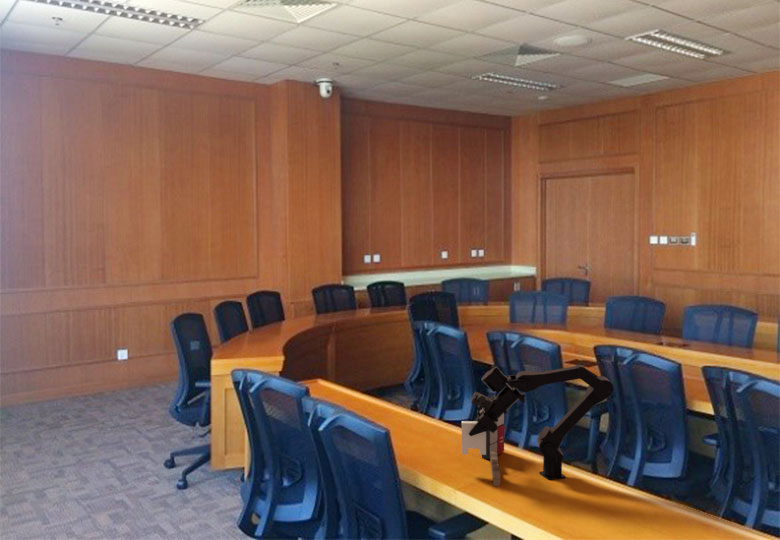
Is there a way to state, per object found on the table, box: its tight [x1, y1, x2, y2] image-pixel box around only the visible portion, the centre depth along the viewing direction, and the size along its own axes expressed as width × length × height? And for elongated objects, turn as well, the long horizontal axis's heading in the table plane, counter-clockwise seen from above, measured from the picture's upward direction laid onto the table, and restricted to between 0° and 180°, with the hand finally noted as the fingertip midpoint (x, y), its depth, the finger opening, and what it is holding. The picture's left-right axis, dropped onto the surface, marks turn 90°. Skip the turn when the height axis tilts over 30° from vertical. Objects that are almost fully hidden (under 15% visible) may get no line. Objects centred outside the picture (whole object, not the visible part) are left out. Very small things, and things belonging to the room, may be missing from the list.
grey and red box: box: [481, 413, 505, 461], centre depth 239 cm, size 11×4×15 cm, turn 143°
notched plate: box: [461, 420, 486, 456], centre depth 222 cm, size 8×2×10 cm, turn 84°
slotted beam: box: [489, 451, 501, 487], centre depth 222 cm, size 22×2×4 cm, turn 174°
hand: (469, 433), depth 222 cm, fingers closed on notched plate, 2 cm apart
